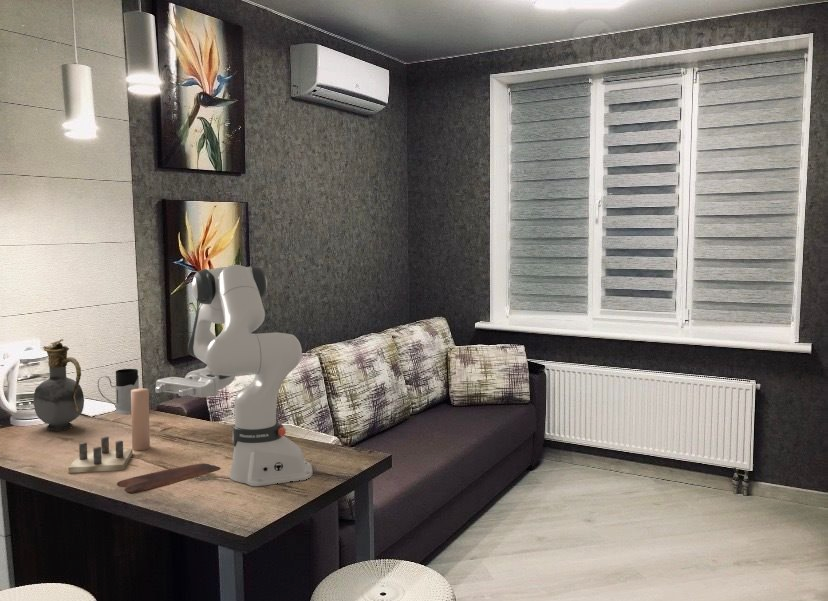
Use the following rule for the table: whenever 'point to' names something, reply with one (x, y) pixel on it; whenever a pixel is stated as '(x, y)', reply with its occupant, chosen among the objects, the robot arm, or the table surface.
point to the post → (140, 419)
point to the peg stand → (100, 458)
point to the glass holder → (124, 389)
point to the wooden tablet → (165, 477)
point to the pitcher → (59, 391)
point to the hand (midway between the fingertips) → (168, 392)
